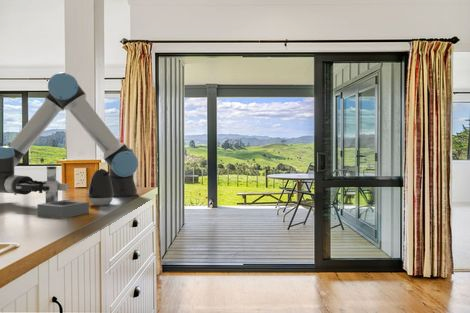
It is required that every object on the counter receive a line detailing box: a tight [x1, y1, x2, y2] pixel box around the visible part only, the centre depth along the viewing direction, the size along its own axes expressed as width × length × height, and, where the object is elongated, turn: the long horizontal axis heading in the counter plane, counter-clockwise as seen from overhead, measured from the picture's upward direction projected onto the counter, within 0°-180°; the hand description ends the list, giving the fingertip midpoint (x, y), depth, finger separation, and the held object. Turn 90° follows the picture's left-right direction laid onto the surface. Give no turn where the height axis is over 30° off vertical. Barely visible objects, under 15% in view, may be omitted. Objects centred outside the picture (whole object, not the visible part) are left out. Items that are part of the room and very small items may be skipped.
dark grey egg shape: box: [87, 168, 114, 207], centre depth 157 cm, size 10×10×15 cm
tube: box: [44, 165, 59, 203], centre depth 147 cm, size 4×4×17 cm
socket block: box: [37, 199, 90, 219], centre depth 136 cm, size 12×12×4 cm
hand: (61, 188), depth 145 cm, fingers closed on tube, 4 cm apart
